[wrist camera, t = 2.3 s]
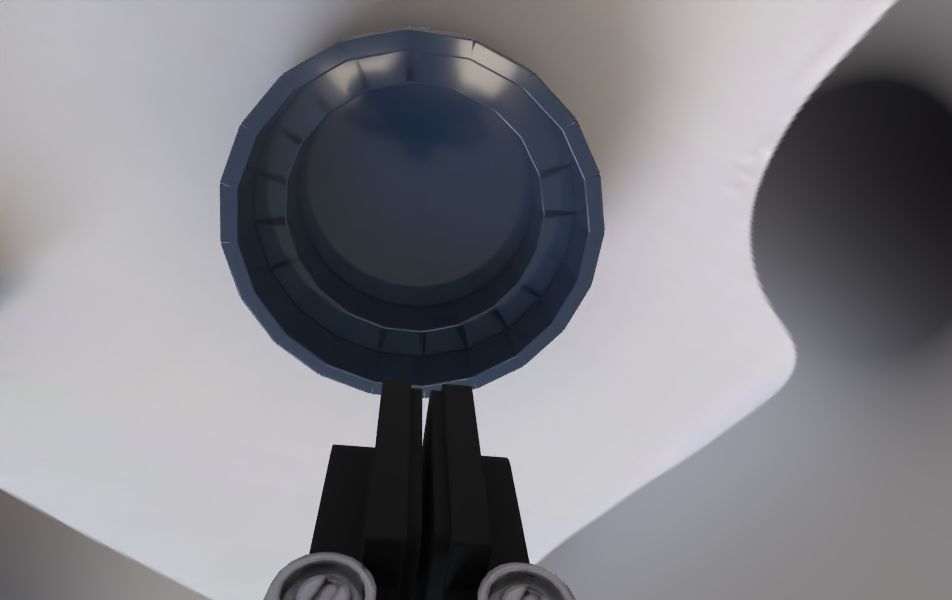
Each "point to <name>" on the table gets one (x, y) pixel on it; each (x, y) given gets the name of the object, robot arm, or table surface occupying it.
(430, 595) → the robot arm
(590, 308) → the table surface
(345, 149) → the bowl
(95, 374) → the table surface
